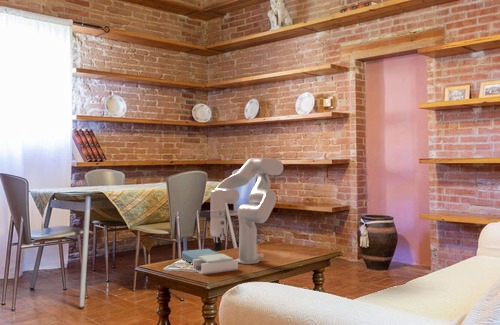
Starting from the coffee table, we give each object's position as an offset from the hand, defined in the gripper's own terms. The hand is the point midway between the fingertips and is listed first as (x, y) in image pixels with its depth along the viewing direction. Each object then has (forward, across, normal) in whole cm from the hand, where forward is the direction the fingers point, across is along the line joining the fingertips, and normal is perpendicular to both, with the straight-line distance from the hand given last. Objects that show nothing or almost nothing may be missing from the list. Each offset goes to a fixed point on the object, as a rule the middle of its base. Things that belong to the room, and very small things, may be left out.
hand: (217, 250), depth 242 cm
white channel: (+10, 0, +1) cm, 10 cm away
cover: (+4, 0, +1) cm, 5 cm away
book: (+11, +19, -1) cm, 22 cm away
